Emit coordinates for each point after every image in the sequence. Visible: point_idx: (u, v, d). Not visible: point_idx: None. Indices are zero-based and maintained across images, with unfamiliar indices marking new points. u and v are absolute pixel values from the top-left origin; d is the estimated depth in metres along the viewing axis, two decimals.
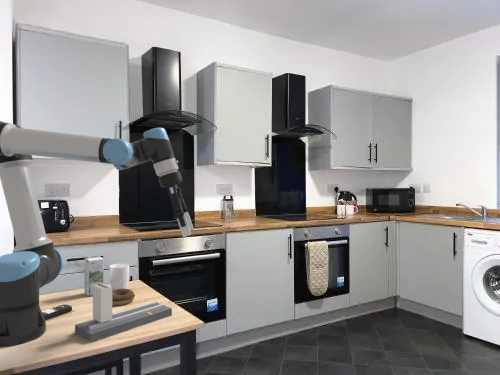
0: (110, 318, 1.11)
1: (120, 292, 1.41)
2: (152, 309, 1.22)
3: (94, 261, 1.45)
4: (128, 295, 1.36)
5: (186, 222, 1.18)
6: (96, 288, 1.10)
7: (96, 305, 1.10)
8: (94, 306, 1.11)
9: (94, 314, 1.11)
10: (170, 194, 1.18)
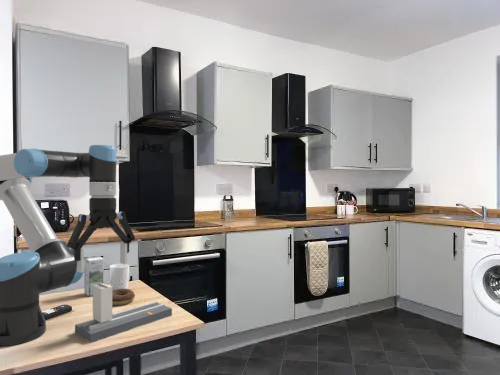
0: (110, 318, 1.11)
1: (120, 292, 1.41)
2: (152, 309, 1.22)
3: (94, 261, 1.45)
4: (128, 295, 1.36)
5: (81, 257, 1.05)
6: (96, 288, 1.10)
7: (96, 305, 1.10)
8: (94, 306, 1.11)
9: (94, 314, 1.11)
10: (78, 221, 1.06)
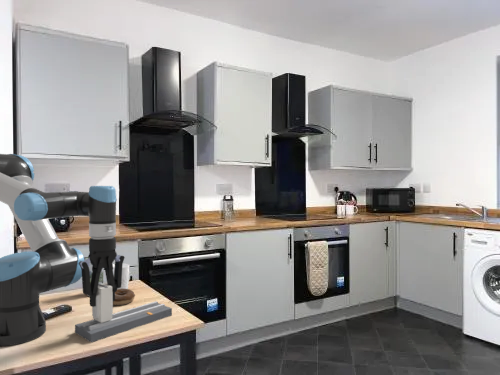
0: (110, 318, 1.11)
1: (120, 292, 1.41)
2: (152, 309, 1.22)
3: None
4: (128, 295, 1.36)
5: (96, 303, 1.09)
6: None
7: None
8: None
9: None
10: (81, 269, 1.07)
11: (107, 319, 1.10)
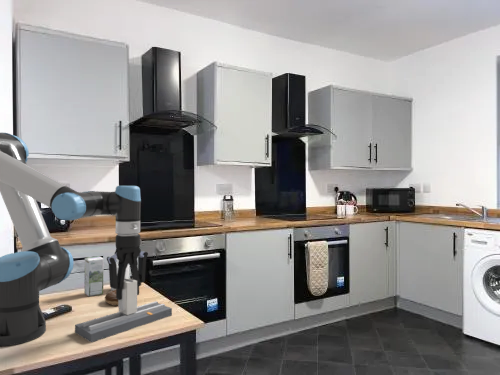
0: (135, 311, 1.17)
1: None
2: (152, 309, 1.22)
3: (94, 261, 1.45)
4: None
5: (122, 296, 1.15)
6: None
7: None
8: None
9: None
10: (109, 264, 1.14)
11: (132, 311, 1.16)
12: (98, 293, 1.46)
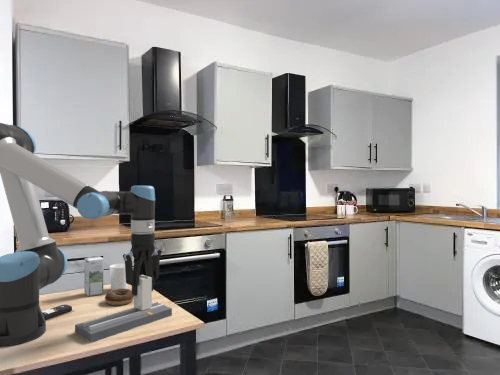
0: (150, 306, 1.21)
1: (120, 292, 1.41)
2: (152, 309, 1.22)
3: (94, 261, 1.45)
4: (128, 295, 1.36)
5: (138, 292, 1.19)
6: None
7: None
8: None
9: None
10: (125, 261, 1.18)
11: (147, 307, 1.20)
12: (98, 293, 1.46)
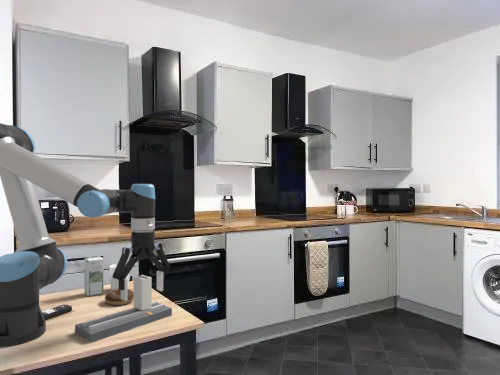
0: (149, 306, 1.21)
1: (120, 292, 1.41)
2: (152, 309, 1.22)
3: (94, 261, 1.45)
4: (128, 295, 1.36)
5: (125, 287, 1.16)
6: (137, 279, 1.21)
7: (137, 294, 1.21)
8: (135, 295, 1.21)
9: (135, 303, 1.22)
10: (122, 254, 1.17)
11: (147, 307, 1.20)
12: (98, 293, 1.46)
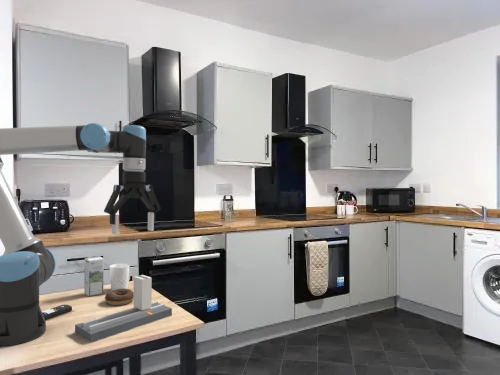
0: (149, 306, 1.21)
1: (120, 292, 1.41)
2: (152, 309, 1.22)
3: (94, 261, 1.45)
4: (128, 295, 1.36)
5: (115, 221, 1.22)
6: (137, 279, 1.21)
7: (137, 294, 1.21)
8: (135, 295, 1.21)
9: (135, 303, 1.22)
10: (113, 190, 1.23)
11: (147, 307, 1.20)
12: (98, 293, 1.46)
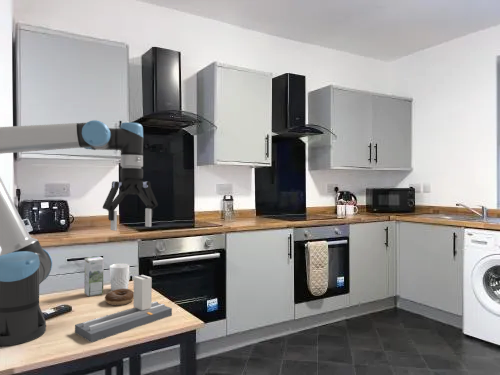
0: (149, 306, 1.21)
1: (120, 292, 1.41)
2: (152, 309, 1.22)
3: (94, 261, 1.45)
4: (128, 295, 1.36)
5: (114, 217, 1.23)
6: (137, 279, 1.21)
7: (137, 294, 1.21)
8: (135, 295, 1.21)
9: (135, 303, 1.22)
10: (112, 187, 1.24)
11: (147, 307, 1.20)
12: (98, 293, 1.46)
